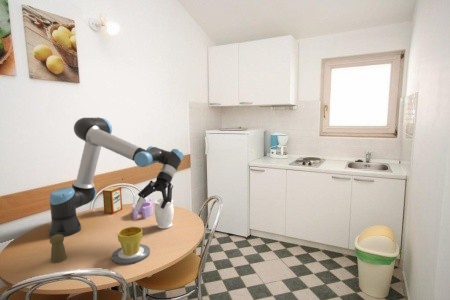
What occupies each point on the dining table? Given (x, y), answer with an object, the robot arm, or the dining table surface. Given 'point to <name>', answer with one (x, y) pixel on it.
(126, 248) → the plant pot
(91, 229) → the dining table surface
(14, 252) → the dining table surface
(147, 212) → the clip
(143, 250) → the base
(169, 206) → the jar
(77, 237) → the dining table surface
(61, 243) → the cork
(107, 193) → the baking soda box
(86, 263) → the dining table surface
